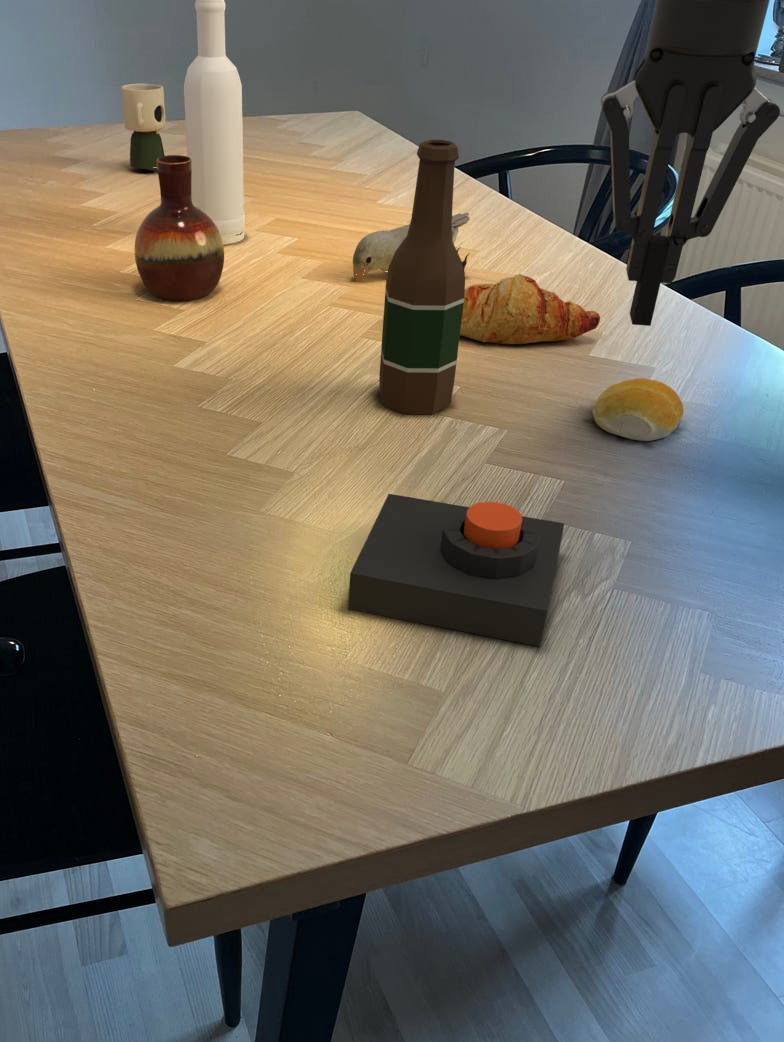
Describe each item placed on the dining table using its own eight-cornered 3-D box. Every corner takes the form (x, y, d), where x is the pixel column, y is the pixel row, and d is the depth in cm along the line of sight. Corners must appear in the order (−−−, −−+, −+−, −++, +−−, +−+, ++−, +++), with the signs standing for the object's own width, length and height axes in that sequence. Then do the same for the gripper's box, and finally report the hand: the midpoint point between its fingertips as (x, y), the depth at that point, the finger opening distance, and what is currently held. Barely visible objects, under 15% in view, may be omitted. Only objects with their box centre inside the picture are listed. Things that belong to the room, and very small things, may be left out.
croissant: (409, 360, 117) (410, 312, 110) (420, 296, 121) (421, 245, 113) (591, 374, 113) (604, 325, 106) (596, 307, 117) (609, 256, 110)
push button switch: (557, 557, 78) (569, 502, 75) (539, 647, 69) (552, 589, 66) (385, 527, 81) (390, 473, 78) (347, 609, 72) (351, 551, 69)
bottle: (250, 231, 145) (247, -10, 127) (238, 247, 139) (233, -4, 121) (198, 227, 146) (187, -13, 128) (184, 243, 140) (170, -7, 122)
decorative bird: (345, 274, 131) (348, 215, 126) (454, 264, 135) (461, 207, 130) (360, 288, 127) (363, 227, 122) (471, 277, 131) (479, 218, 126)
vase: (141, 308, 119) (129, 171, 110) (134, 278, 128) (123, 149, 118) (231, 303, 121) (227, 168, 112) (218, 274, 130) (214, 147, 120)
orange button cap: (521, 527, 72) (525, 506, 71) (514, 555, 69) (518, 534, 68) (468, 517, 73) (471, 497, 72) (459, 545, 70) (461, 524, 69)
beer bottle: (399, 421, 96) (421, 156, 81) (363, 390, 102) (378, 136, 87) (466, 409, 99) (501, 149, 84) (428, 379, 104) (454, 130, 89)
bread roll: (685, 414, 99) (696, 376, 96) (667, 450, 92) (678, 411, 90) (604, 396, 102) (612, 359, 99) (581, 430, 95) (589, 391, 93)
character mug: (163, 178, 169) (157, 93, 161) (122, 176, 169) (114, 91, 161) (173, 163, 177) (168, 82, 169) (134, 162, 178) (127, 80, 170)
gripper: (801, -16, 70) (713, 310, 85) (616, -21, 72) (560, 299, 87) (826, -6, 65) (726, 341, 79) (624, -12, 66) (563, 329, 81)
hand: (639, 319), depth 83 cm, fingers closed
